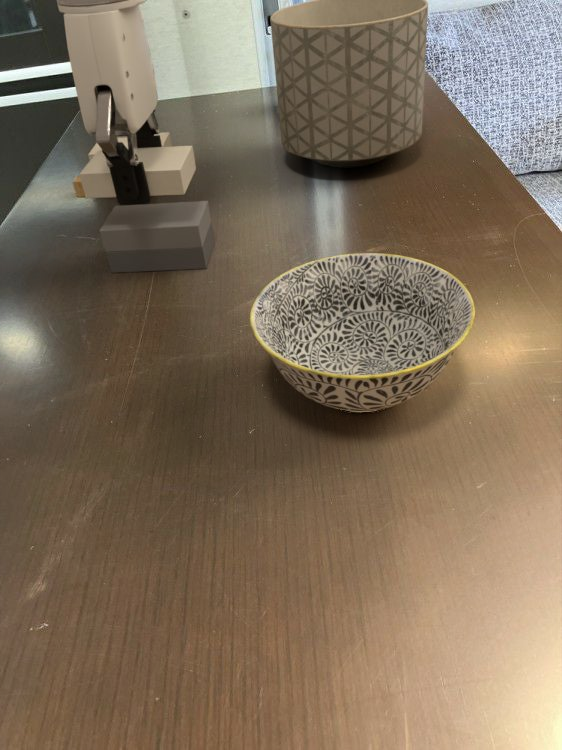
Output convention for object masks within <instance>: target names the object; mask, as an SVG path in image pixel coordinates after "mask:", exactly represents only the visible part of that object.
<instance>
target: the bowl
mask: <svg viewBox="0 0 562 750" xmlns="http://www.w3.org/2000/svg"><path fill="white" fill-rule="evenodd" d="M249 314H250V315H249V323H250V327H251V331H252V334H253V335H254V337H255V339H256V340H257V342H258V344H260V346H261V347H262V348H263V349H264V350H265V351H266V353H267V354H268V355H269V357H270V358H271V360H272V362H273V363H274V366H275V367H276V368H277V371H279V373H280V375H282V377H283V378H284V379H285V380H286V381H287V382H288V383H289V385H290V386H291V387H292V388H294V389H295V390H296V391H298V392H299V393H300V394H301V395H303V396H305V397H306V398H307V399H310V400H311V401H313V402H315V403H318V404H320V405H323V406H324V407H328V408H332V409H336V410H339V409H340V410H339V411H342V410H347V411H374V410H380V409H383V410H386V409H389V408H392V407H395V406H398V405H401V404H403V403H406V402H407V401H410V400H411V399H413V398H415V397H416V396H418V395H419V394H420V393H422V392H424V391H425V390H426V389H428V388H429V387H430V386H431V385H432V384H433V383H434V381H436V380H437V379H438V378H439V376H440V375H441V373H442V372H443V371H444V369H445V368H446V366H447V364H448V363H449V362H450V360H451V358H452V357H453V355H454V353H455V351H457V348H458V347H459V346H460V345H461V344H462V343H463V342H464V340H465V339H466V338H467V337H468V334H469V333H470V331H471V330H472V327H473V324H474V322H475V316H476V315H475V314H476V308H475V303H474V300H473V297H472V294H471V293H470V291H469V290H468V288H467V286H466V285H465V284H464V283H463V282H461V281H460V280H459V279H458V278H457V277H456V276H455V275H453V274H452V273H450V272H449V271H447V270H445V269H443V268H441V267H440V266H437V265H435V264H433V263H430V262H427V261H424V260H422V259H418V258H415V257H410V256H404V255H398V254H391V253H382V252H381V253H379V252H363V253H362V252H360V253H347V254H340V255H339V254H338V255H334V256H328V257H323V258H318V259H316V260H312V261H309V262H306V263H303V264H300V265H297V266H295V267H293V268H291V269H289V270H287V271H286V272H283V273H282V274H280V275H278V276H277V277H275V278H274V279H273V280H271V281H269V282H268V284H267V285H265V286H264V287H263V288H262V289H261V290H260V292H259V293H258V295H257V296H256V298H255V299H254V302H253V303H252V306H251V309H250V312H249ZM385 408H386V409H385Z"/></svg>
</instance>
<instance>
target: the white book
mask: <svg viewBox="0 0 562 750" xmlns="http://www.w3.org/2000/svg"><path fill="white" fill-rule="evenodd" d="M193 152H194V148H193V145H174V146H173V145H172V147H151V148H138V160H139V162H143V165H144V170H145V174H146V179H147V184H148V188H149V193H150V197H153V196H154V197H155V196H156V197H157V196H176V195H177V196H181V195H185V194H186V192H187V190H188V187H189V186H190V183H191V181H192V179H193V176H194V174H195V172H196V171H197V166H196V158H195V159H194V157H195V152H194V153H193ZM78 175H80V179H81V182H82V186H83V189H84V193H85V196H84V197H85V199H101V198H103V199H104V198H106V199H107V198H117V197H116V193H115V189H114V185H113V181H112V177H111V173H110V169H109V167H108V166H107V163H106V157H105V155H104V154H103V152H102V150H98V152H97V153H96V154H95V155H94V156H93V158H92V159H91V160H89V161H88V163H87V164H86V165H85V166H84V167H83V168H82V170H81V171H80V172H79V174H78Z"/></svg>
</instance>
